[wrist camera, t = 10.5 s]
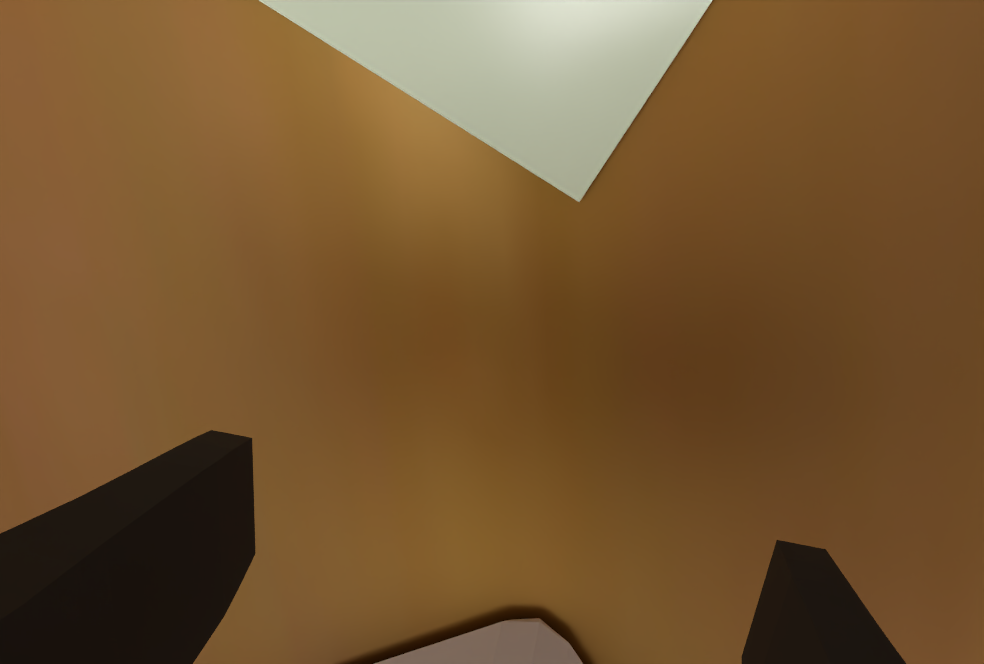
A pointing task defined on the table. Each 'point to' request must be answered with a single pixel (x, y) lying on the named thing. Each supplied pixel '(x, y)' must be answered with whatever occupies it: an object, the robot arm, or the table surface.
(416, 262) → the table surface
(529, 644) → the soap bottle
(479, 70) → the sage tile
